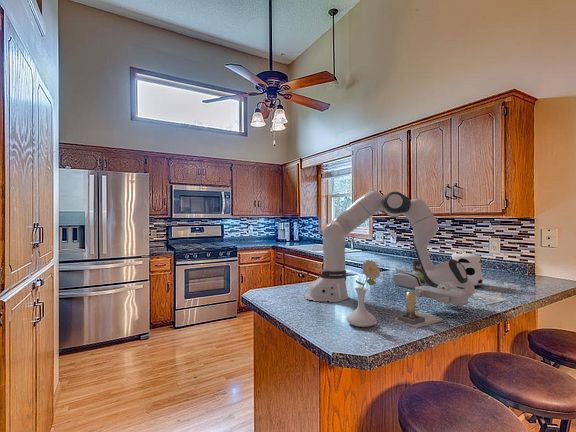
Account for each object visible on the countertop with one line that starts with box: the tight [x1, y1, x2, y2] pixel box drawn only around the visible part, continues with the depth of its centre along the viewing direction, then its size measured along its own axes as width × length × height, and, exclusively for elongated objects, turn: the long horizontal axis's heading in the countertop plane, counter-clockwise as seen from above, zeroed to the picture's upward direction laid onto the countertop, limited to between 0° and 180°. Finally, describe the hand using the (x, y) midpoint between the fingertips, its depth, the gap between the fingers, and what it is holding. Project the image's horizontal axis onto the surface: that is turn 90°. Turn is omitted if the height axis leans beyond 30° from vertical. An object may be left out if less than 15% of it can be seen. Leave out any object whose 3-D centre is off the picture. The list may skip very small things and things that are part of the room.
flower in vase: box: [345, 259, 381, 328], centre depth 119 cm, size 13×11×25 cm
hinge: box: [393, 271, 423, 290], centre depth 181 cm, size 17×5×10 cm, turn 34°
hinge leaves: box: [394, 311, 443, 329], centre depth 123 cm, size 16×10×2 cm, turn 120°
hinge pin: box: [405, 290, 416, 320], centre depth 121 cm, size 3×3×11 cm
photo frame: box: [468, 292, 508, 306], centre depth 153 cm, size 15×1×18 cm
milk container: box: [450, 253, 484, 288], centre depth 184 cm, size 17×17×18 cm
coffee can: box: [412, 258, 429, 286], centre depth 191 cm, size 10×10×14 cm
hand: (428, 297), depth 126 cm, fingers open, 8 cm apart
